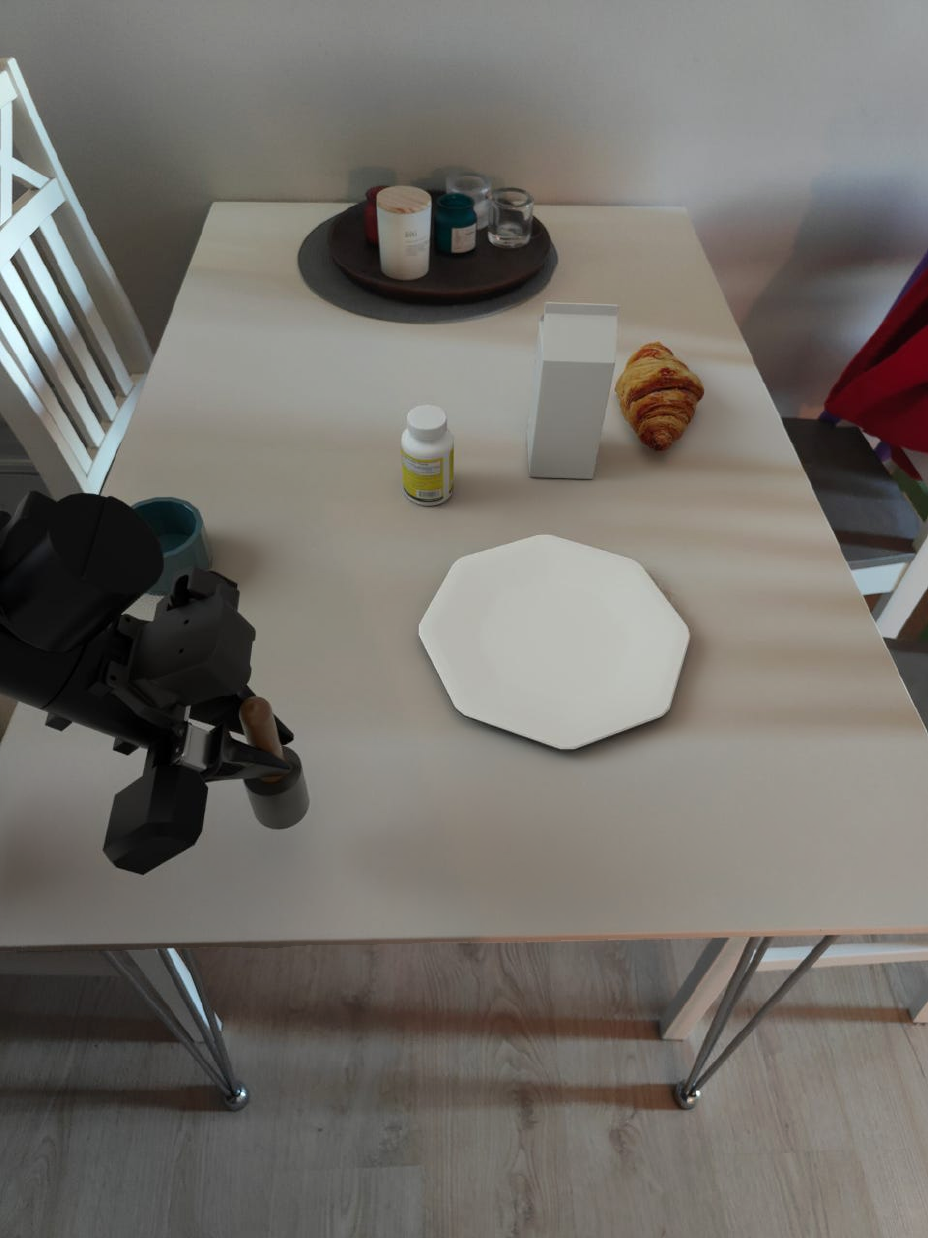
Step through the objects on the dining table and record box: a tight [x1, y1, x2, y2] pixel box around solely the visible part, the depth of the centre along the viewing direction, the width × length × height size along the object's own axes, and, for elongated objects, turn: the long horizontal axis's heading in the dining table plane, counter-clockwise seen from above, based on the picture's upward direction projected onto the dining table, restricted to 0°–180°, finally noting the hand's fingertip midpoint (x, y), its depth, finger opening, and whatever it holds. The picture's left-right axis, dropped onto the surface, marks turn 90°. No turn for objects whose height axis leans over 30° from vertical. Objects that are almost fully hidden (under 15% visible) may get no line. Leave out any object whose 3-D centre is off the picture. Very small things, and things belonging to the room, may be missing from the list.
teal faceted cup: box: [129, 496, 213, 596], centre depth 82 cm, size 8×8×5 cm
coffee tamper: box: [239, 695, 310, 831], centre depth 56 cm, size 4×4×13 cm
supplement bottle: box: [400, 404, 455, 507], centre depth 88 cm, size 5×5×10 cm
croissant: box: [614, 340, 705, 453], centre depth 101 cm, size 21×10×8 cm, turn 175°
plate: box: [418, 534, 691, 751], centre depth 79 cm, size 24×24×2 cm
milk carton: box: [526, 301, 620, 480], centre depth 89 cm, size 7×7×19 cm
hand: (288, 755), depth 56 cm, fingers closed on coffee tamper, 2 cm apart
